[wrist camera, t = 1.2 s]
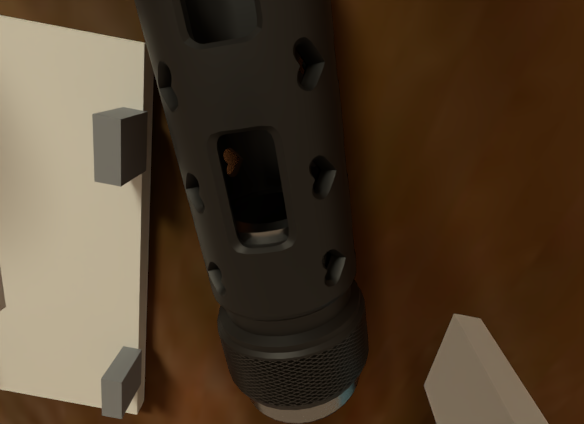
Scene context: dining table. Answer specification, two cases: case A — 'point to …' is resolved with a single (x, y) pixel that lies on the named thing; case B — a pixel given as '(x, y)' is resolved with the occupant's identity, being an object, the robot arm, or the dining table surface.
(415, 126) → the dining table surface
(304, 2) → the muzzle brake
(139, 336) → the mounting board
